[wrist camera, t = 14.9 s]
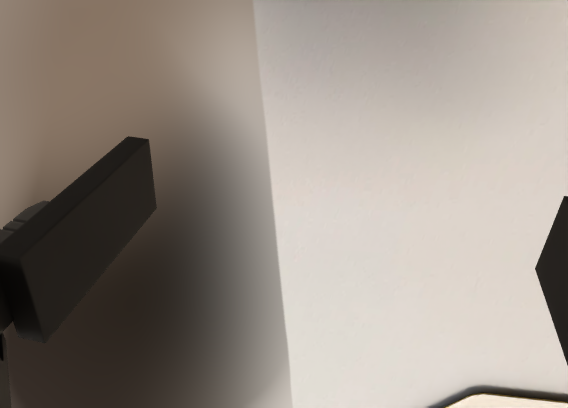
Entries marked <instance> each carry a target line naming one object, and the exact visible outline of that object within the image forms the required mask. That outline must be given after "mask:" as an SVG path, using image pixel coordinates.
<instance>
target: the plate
mask: <svg viewBox="0 0 568 408" xmlns="http://www.w3.org/2000/svg"><path fill="white" fill-rule="evenodd" d="M443 408H568V402H564V401H555V400H545V399H536V398H527V397H518V396H509V395H499V394H490V393H478V394H471V395H469V396H467V397H465V398H463V399H460V400H458V401H456V402H454V403H452V404H450V405H448V406H445V407H443Z"/></svg>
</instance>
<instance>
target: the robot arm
mask: <svg viewBox="0 0 568 408" xmlns="http://www.w3.org/2000/svg"><path fill="white" fill-rule="evenodd" d="M156 208H157V207H156V198H155V190H154V181H153V172H152V163H151V154H150V145H149V139H143V138H136V137H127V138H125V139H124V140H123V141H122V142H121V143H119V144H118V145H117V146H116V147H115V148H113V149H112V150H111V151H110V152H109V153H107V154H106V155H105V156H104V157H103V158H102V159H100V160H99V161H98V162H97V163H95V164H94V165H93V166H92V167H91V168H90V169H88V170H87V171H86V172H85V173H84V174H82V175H81V176H80V177H79V178H78V179H76V180H75V181H74V182H73V183H72V184H71V185H69V186H68V187H67V188H66V189H64V190H63V191H62V192H61V193H60V194H59V195H57V196H56V197H55V198H54V199H52V200H51V201H50V202H49V201H42V202H40V203H37V204H35V205H33V206H31V207H29V208H27V209H25V210H24V211H23V212H21V213H20V214H19V215H18V216H17V217H15V218H14V219H13V221H10V222H9V223H8V224H6V225H5V226H4V227H3V230H1V229H0V408H11V397H10V386H9V373H8V360H7V347H6V340H5V337H4V334H3V331H4V330H5V329H6V328H7V327H8V326H9V325H10V323H11V322H12V321H13V322H14V325H15V328H16V331H17V334H18V337H19V338H23V339H28V340H33V341H38V342H42V343H46V342H47V341H48V339H49V338H50V337H51V336H52V335H53V333H54V332H55V331H56V330H57V329H58V327H59V326H60V325H61V324H62V322H63V321H64V320H65V319H66V318H67V316H68V315H69V314H70V313H71V312H72V310H73V309H74V308H75V307H76V306H77V304H78V303H79V302H80V301H81V299H82V298H83V297H84V296H85V295H86V293H87V292H88V291H89V290H90V289H91V287H92V286H93V285H94V284H95V282H96V281H97V280H98V279H99V277H100V276H101V275H102V274H103V273H104V271H105V270H106V269H107V268H108V267H109V265H110V264H111V263H112V262H113V261H114V259H115V258H116V257H117V256H118V254H119V253H120V252H121V251H122V249H123V248H124V247H125V246H126V245H127V243H128V242H129V241H130V240H131V239H132V237H133V236H134V235H135V234H136V233H137V231H138V230H139V229H140V228H141V227H142V225H143V224H144V223H145V222H146V220H147V219H148V218H149V217H150V215H151V214H152V213H153V212H154V211H155V210H156ZM535 270H536V273H537V276H538V279H539V282H540V285H541V288H542V291H543V294H544V297H545V299H546V302H547V305H548V308H549V311H550V314H551V317H552V320H553V323H554V326H555V329H556V332H557V335H558V338H559V341H560V344H561V347H562V350H563V353H564V356H565V359H566V362H567V365H568V196H564V198H563V200H562V203H561V205H560V208H559V210H558V213H557V215H556V218H555V220H554V223H553V225H552V228H551V230H550V233H549V235H548V238H547V240H546V243H545V245H544V248H543V250H542V253H541V255H540V258H539V260H538V263H537V265H536V268H535Z"/></svg>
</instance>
